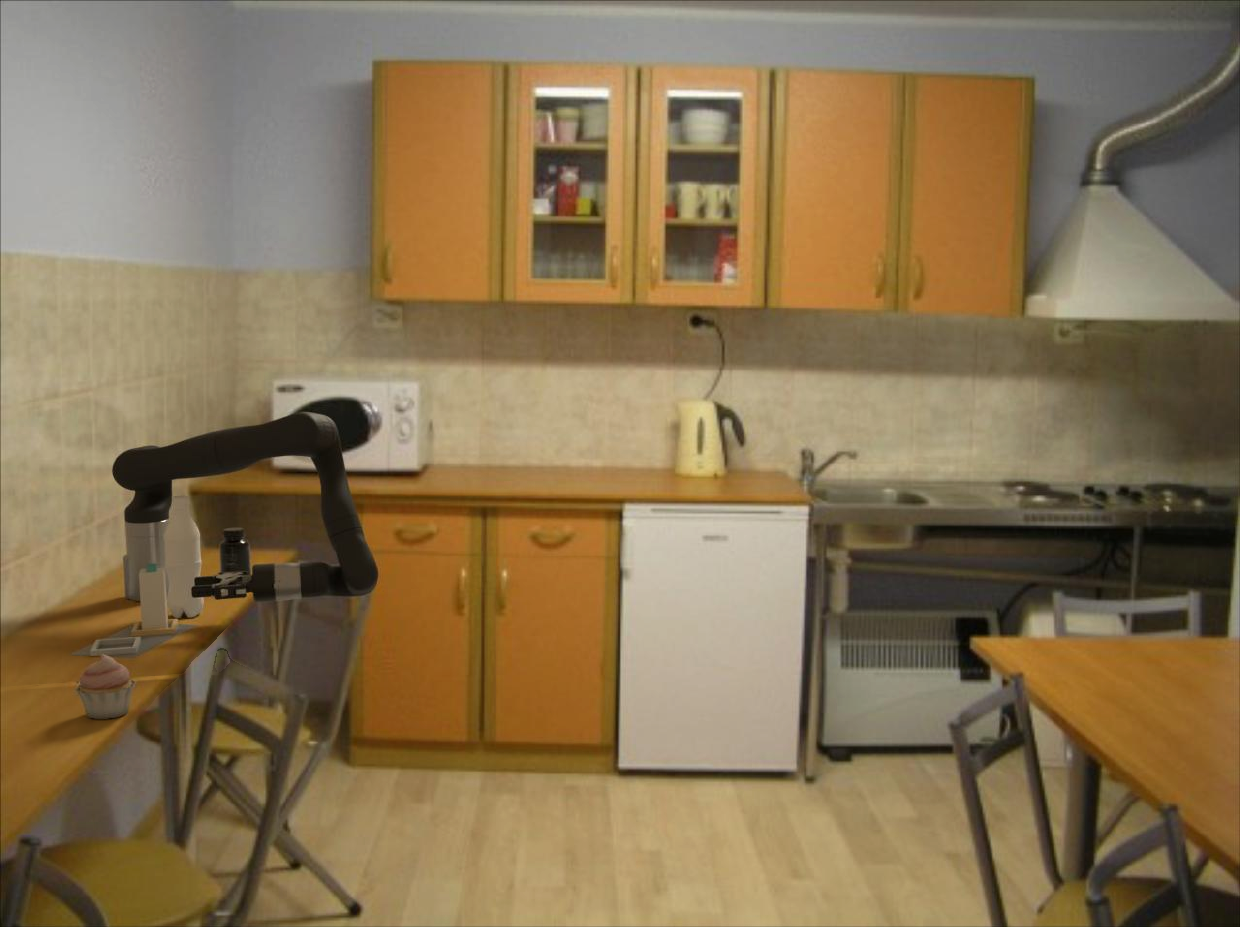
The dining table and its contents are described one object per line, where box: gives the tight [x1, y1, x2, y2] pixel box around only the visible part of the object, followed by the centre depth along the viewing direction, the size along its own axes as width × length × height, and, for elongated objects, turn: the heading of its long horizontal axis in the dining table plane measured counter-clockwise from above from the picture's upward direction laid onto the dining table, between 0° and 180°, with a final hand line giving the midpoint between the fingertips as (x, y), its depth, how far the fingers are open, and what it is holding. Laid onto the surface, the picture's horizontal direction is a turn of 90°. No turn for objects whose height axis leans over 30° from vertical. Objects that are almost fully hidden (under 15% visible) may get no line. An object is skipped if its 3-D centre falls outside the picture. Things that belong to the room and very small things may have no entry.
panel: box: [69, 618, 198, 659], centre depth 267 cm, size 13×25×2 cm, turn 169°
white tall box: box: [139, 564, 169, 630], centre depth 273 cm, size 4×4×13 cm
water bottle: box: [164, 495, 205, 619], centre depth 286 cm, size 7×7×25 cm
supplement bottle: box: [218, 527, 252, 578], centre depth 320 cm, size 7×7×12 cm
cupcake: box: [74, 654, 137, 720], centre depth 223 cm, size 9×9×10 cm
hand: (193, 587), depth 275 cm, fingers open, 8 cm apart
